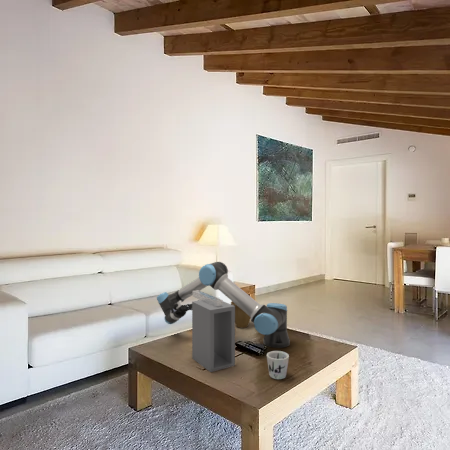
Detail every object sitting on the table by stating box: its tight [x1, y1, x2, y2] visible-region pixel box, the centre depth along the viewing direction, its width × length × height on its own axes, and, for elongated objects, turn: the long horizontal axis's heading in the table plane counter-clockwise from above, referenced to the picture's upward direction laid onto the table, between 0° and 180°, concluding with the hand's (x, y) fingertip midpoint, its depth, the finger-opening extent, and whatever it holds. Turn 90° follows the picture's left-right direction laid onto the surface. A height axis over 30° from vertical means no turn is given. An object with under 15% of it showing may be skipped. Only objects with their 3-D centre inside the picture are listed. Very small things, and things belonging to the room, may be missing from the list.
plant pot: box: [230, 301, 251, 329], centre depth 249 cm, size 15×15×16 cm
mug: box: [266, 350, 290, 380], centre depth 179 cm, size 10×15×10 cm
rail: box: [192, 290, 224, 307], centre depth 196 cm, size 26×4×3 cm, turn 32°
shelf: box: [191, 300, 236, 373], centre depth 192 cm, size 19×14×30 cm
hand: (192, 301), depth 211 cm, fingers open, 13 cm apart
